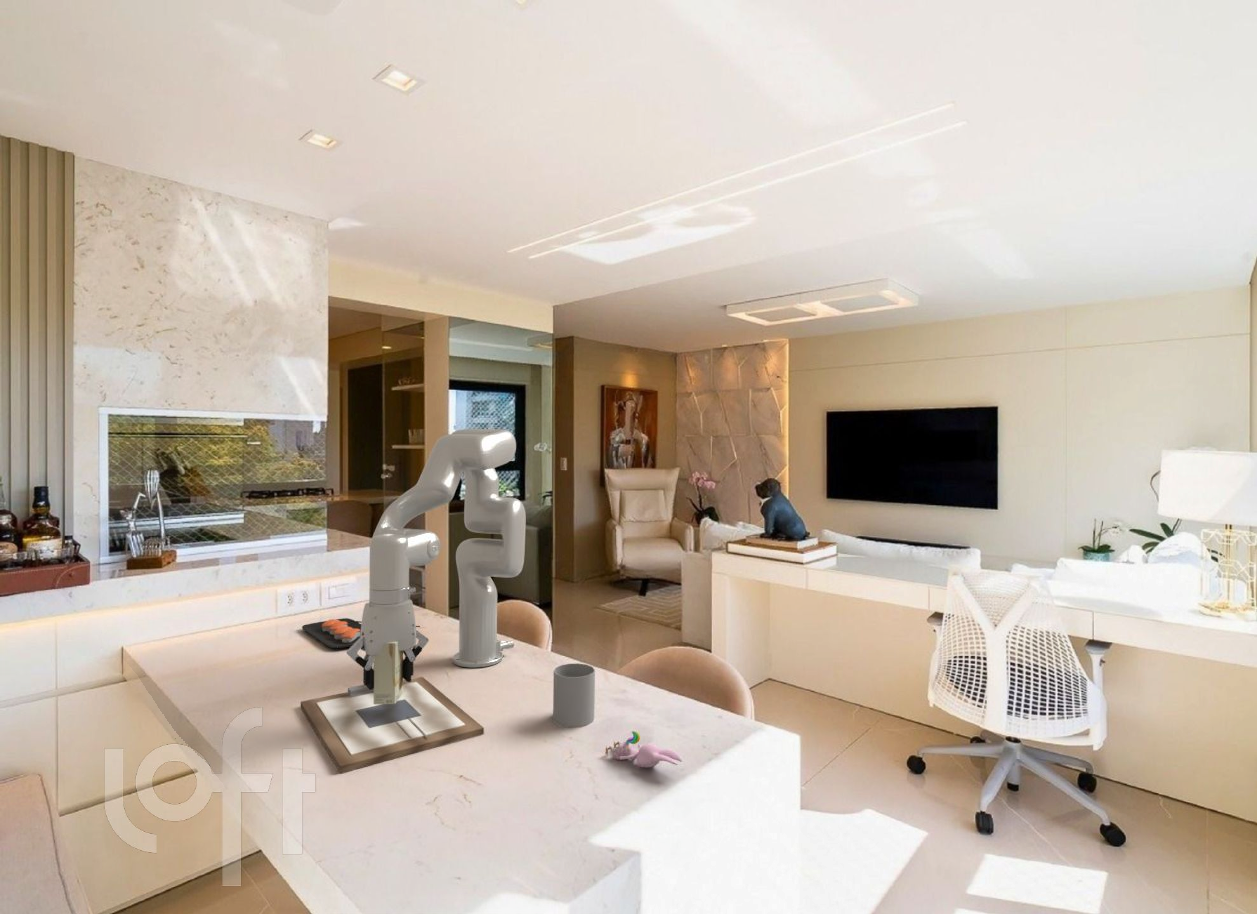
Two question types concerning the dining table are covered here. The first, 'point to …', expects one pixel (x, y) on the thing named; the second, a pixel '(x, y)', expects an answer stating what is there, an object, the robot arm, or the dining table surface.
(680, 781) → the dining table surface
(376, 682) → the skincare box
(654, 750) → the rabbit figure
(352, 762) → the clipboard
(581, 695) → the cup
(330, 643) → the sushi plate
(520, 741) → the dining table surface
